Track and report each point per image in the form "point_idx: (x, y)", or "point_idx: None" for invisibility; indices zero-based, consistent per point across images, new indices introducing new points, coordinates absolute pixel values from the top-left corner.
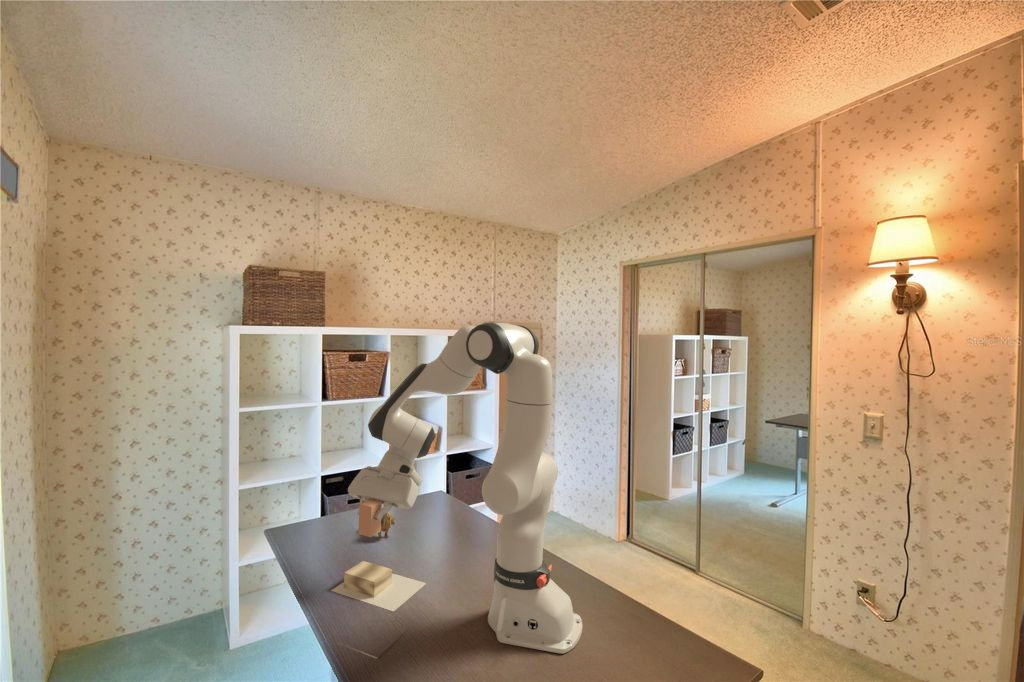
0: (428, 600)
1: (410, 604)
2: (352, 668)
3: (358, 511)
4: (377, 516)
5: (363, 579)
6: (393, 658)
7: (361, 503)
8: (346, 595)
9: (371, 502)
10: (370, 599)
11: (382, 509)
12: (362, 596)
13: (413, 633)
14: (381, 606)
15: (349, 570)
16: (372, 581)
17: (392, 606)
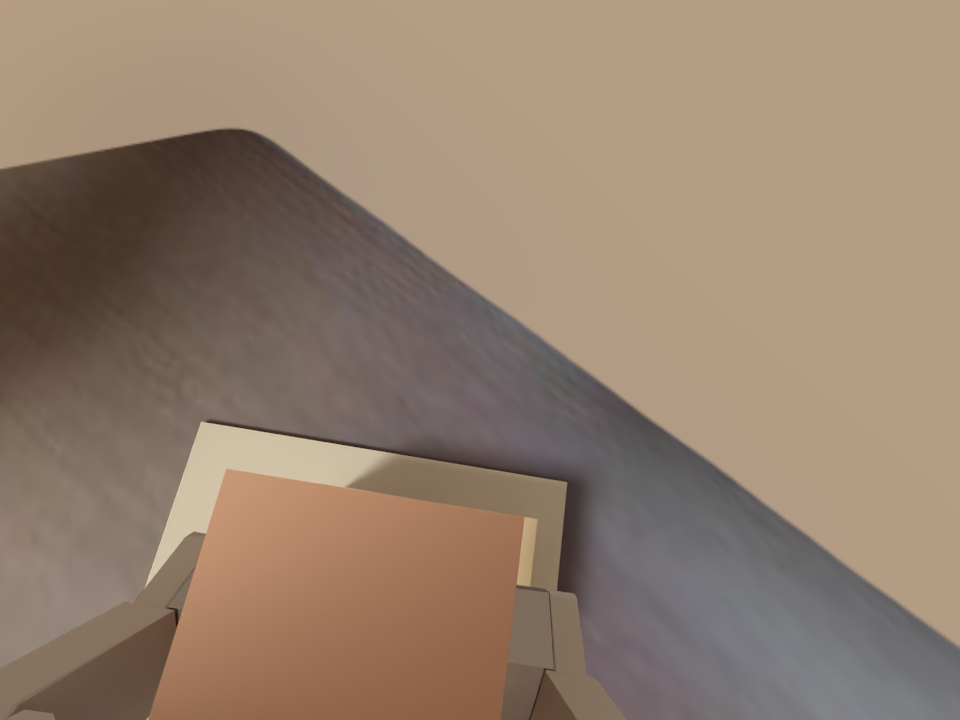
0: (57, 566)
1: (143, 505)
2: (231, 142)
3: (566, 607)
4: (199, 542)
5: (399, 496)
6: (113, 202)
7: (506, 562)
8: (472, 467)
9: (334, 695)
10: (347, 473)
11: (87, 634)
12: (395, 482)
13: (74, 327)
14: (271, 439)
15: (524, 550)
16: (336, 486)
17: (219, 452)
